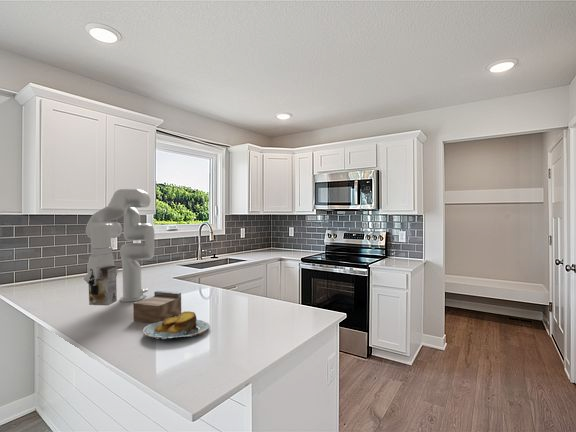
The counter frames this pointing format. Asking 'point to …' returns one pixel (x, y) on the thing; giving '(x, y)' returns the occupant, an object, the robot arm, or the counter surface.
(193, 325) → the food on plate
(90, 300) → the coffee box
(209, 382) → the counter surface
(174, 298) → the display stand
